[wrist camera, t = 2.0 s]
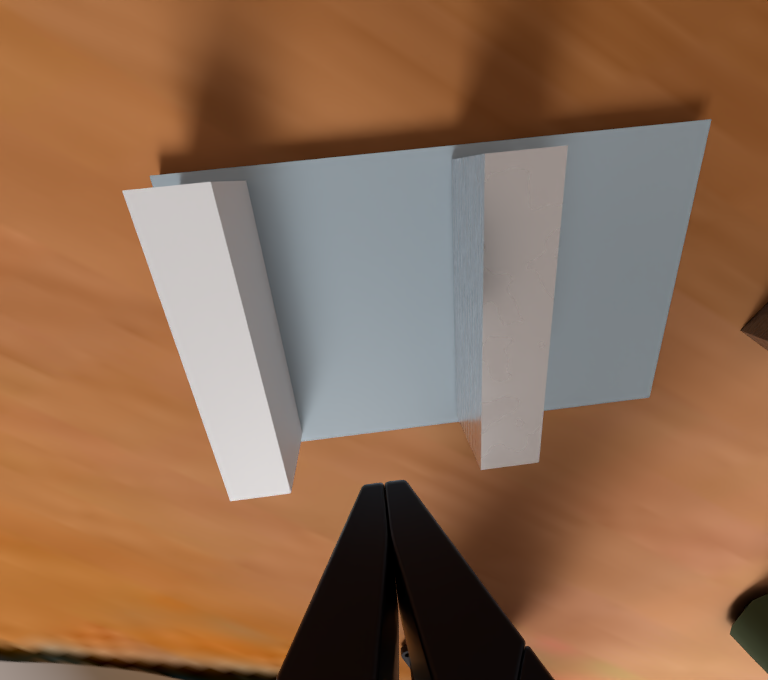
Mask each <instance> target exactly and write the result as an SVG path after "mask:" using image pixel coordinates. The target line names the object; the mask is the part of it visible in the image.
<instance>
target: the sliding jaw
mask: <svg viewBox="0 0 768 680" xmlns="http://www.w3.org/2000/svg"><path fill="white" fill-rule="evenodd" d="M567 151H568V145H565V146H555V147H546V148H536V149H526V150H516V151H506V152H496V153H487V154H480V155H475V156H469V157H463V158H458V159H452V208H453V259H454V310H455V361H456V412H457V417H458V420H459V422H460V424H461V426H462V429H463V431H464V433H465V435H466V438H467V440H468V442H469V444H470V447H471V449H472V451H473V453H474V456H475V458H476V460H477V462H478V465H479V467H480V469H481V470H485V469H492V468H500V467H508V466H515V465H523V464H530V463H538V462H539V456H540V445H541V434H542V423H543V412H544V401H545V391H546V380H547V369H548V358H549V347H550V336H551V325H552V314H553V303H554V293H555V282H556V271H557V260H558V249H559V238H560V227H561V216H562V206H563V195H564V184H565V173H566V162H567Z"/></svg>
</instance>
